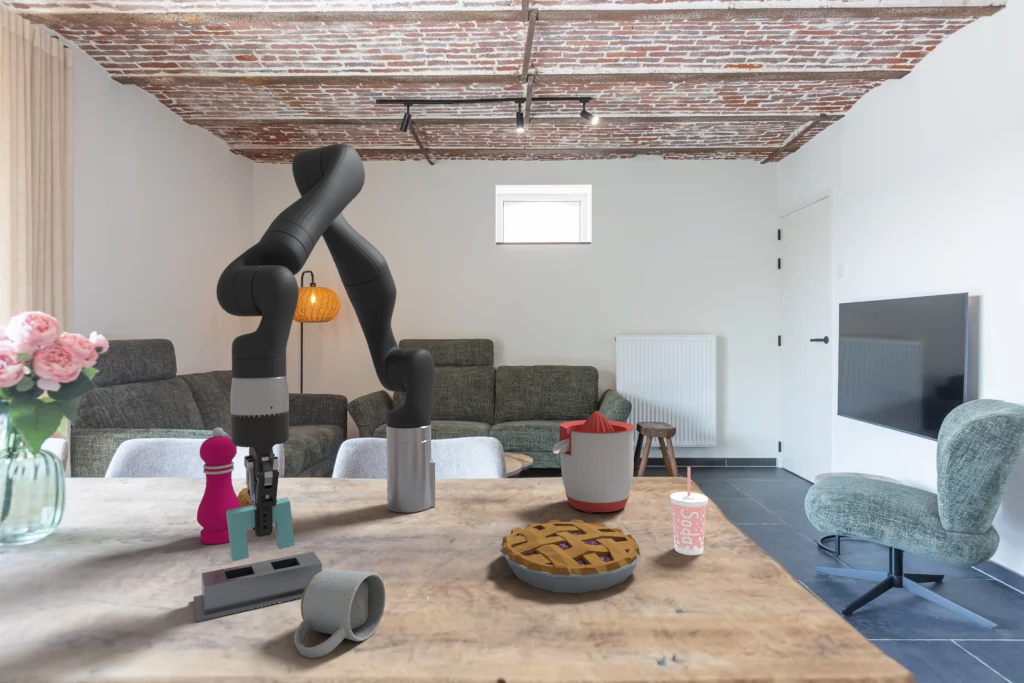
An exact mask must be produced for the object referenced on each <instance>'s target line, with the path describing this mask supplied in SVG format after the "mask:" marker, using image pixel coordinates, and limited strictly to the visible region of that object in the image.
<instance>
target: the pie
mask: <svg viewBox="0 0 1024 683" xmlns="http://www.w3.org/2000/svg"><path fill="white" fill-rule="evenodd" d="M499 552H500V553H501V555H502V556H503V557H504V559H506V562H507V563H508V566H509V568H510V569H511V571H512V572H513V573H514V575H515V576H516V577H517V579H520V580H521V581H523V582H525V583H528V585H531V586H532V587H534V588H539V589H542V590H545V591H550V592H554V593H575V594H576V593H585V592H593V591H600V590H605V589H609V588H611V587H613V586H616V585H619V584H622V583H623V582H625V581H626V580H627V579H628V578H629V577H630V576H631V575H632V574H633V572H634V570H635V568H636V565H637V564H638V562H639V560H641V558H643V553H642V550H641V547H640V545H639V544H638V543H637V540H636V539H635V538H634V536H633V535H632V534H627V535H626V534H624V531H623V530H622V529H620V528H616V527H615V528H609V527H608V526H607V527H606V526H605V524H604V523H601V522H600V523H599V522H592V523H589V522H585V521H583V520H582V519H571V521H561V520H560V519H550V520H549V521H548V522H546V523H538V522H537V523H536V522H535V523H529V524H527V525H526V527H524V528H520V527H516V528H513V529H511V530H510V534H506V535H504V536H503V537H502V541H501V545H500V549H499Z"/></svg>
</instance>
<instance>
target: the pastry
mask: <svg viewBox="0 0 1024 683" xmlns="http://www.w3.org/2000/svg"><path fill="white" fill-rule="evenodd" d="M247 490H248V487H245V488H242V490H240V491H239V492H238V494H237V498H238V500H239V502H240V505H241V507H244V506H249V505H251V504H254V503H250V501H249V497H250V496H249V495H248V493H247Z"/></svg>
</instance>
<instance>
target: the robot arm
mask: <svg viewBox="0 0 1024 683" xmlns="http://www.w3.org/2000/svg"><path fill="white" fill-rule="evenodd" d="M291 162H292V164H291V169H292V176H293V179H294V182H295V185H296V188H297V190H298V192H299V195H300V196H301V197H300V198H299V199H297V200H295V201H294V202H293V203H291V204H290V205H288V206H287V207H286V208H285V209H283V210H282V211H281V212H280V213H279V214H277V216H276V217H275V218H274V219H273V220H272V222H271V223H270V224H269V226H268V228H267V229H266V231H265V232H264V234H263V235H262V237H261V238H260V239H259V240H258V242H257V243H255V244H254V245H252V246H251V247H249V248H248V249H247V250H245V251H244V252H243V253H242V254H240V255H239V256H238V257H236V258H235V259H234V260H233V261H231V262H230V263H229V264H228V265H227V266H226V267H225V268H224V270H223V271H222V272H221V273H220V276H219V278H218V280H217V283H216V284H217V285H216V289H215V290H216V291H215V292H216V298H217V299H216V300H217V302H218V304H219V306H220V307H221V309H222V310H224V311H225V313H227V314H229V315H231V316H235V317H261V320H260V321H259V325H258V327H257V328H256V330H255V331H252V332H249V333H245V334H241V335H238V336H236V337H235V338H234V339H233V341H232V343H231V377H232V379H231V386H230V395H229V396H230V397H229V398H230V402H229V404H230V438H231V442H232V444H233V445H235V446H237V447H238V448H248V455H244V458H243V465H244V468H245V485H246V486H247V487H248V490H247V493H248V495H249V496H250V497H249V501H250V503H254V504H251V505H253V508H254V510H255V527H254V528H252V531H254V535H255V537H257V538H261V537H262V538H263V537H268V536H271V535H273V530H274V529H273V524H274V523H273V518H272V508H274V506H276V503H277V500H276V499H278V498H277V497H278V489H279V488H278V487H279V476H280V472H279V457H278V456H275V452H274V450H273V449H274V448H273V447H275V446H276V445H281V444H285V443H286V442H288V441H289V439H290V407H289V406H290V395H289V394H290V393H289V385H288V378H287V345H288V342H289V336H290V332H291V329H292V324H293V321H294V318H295V315H296V310H297V307H298V303H299V295H300V290H299V284H298V281H297V278H296V277H295V276H296V275H297V274H299V273H300V271H301V270H302V269H303V267H304V266H305V264H306V262H308V259H309V257H310V256H311V254H312V252H313V250H314V248H315V246H316V245H317V243H318V242H319V241H320V239H321V237H322V238H323V240H324V242H325V245H326V246H327V249H328V251H329V254H330V257H331V258H332V260H333V262H334V264H335V267H336V269H337V272H338V275H339V278H340V280H341V283H342V285H343V287H344V288H343V289H344V290H345V293H346V294H347V297H348V299H349V302H350V303H351V306H352V307H353V310H354V313H355V315H356V317H357V319H358V322H359V324H360V328H361V330H362V332H363V336H364V338H365V342H366V344H367V347H368V350H369V354H370V357H371V360H372V364H373V367H374V370H375V374H376V376H377V378H378V381H379V383H380V384H381V386H382V387H383V388H384V390H385V389H386V390H387V391H389V392H393V393H396V392H397V393H405V396H404V402H403V404H402V405H400V406H399V407H397V408H394V409H391V410H389V411H388V412H387V414H386V430H385V431H386V486H387V487H386V492H387V493H386V494H387V496H386V502H387V505H386V506H387V509H388V510H389V511H392V512H396V513H416V512H422V511H425V510H428V509H429V508H433V507H436V462H435V460H434V459H432V416H433V415H432V414H433V411H434V405H435V383H436V368H435V362H434V361H435V360H434V358H433V356H432V354H431V353H430V352H429V350H426V349H424V348H411V347H409V348H407V347H406V348H403V347H402V348H401V347H400V346H399V345H398V342H397V340H396V338H395V335H394V332H393V330H392V328H393V327H392V318H393V315H394V310H395V305H396V301H397V288H396V287H397V286H396V284H395V280H394V278H393V275H392V272H391V269H390V267H389V265H388V262H387V259H386V258H385V256H384V255H383V254H382V253H381V252H380V250H379V249H378V248H376V246H375V245H374V244H372V243H371V242H370V241H368V240H367V239H366V238H365V237H364V236H363V235H362V234H360V233H359V232H358V231H357V230H356V229H354V228H353V227H352V225H350V223H349V222H348V220H347V219H346V218H345V216H344V215H343V213H342V212H343V211H344V210H345V209H346V207H347V206H348V205H349V204H351V202H352V201H353V200H354V199H355V198H356V197H357V196H358V195H359V194H360V193H361V191H362V189H363V187H364V184H365V182H366V181H365V180H366V173H365V166H364V163H363V161H362V158H361V157H360V154H359V153H358V151H357V150H356V149H355V148H354V147H353V146H351V145H350V144H346V143H334V144H328V145H325V146H320V147H317V148H311V149H308V150H303V151H301V152H297V154H295V155H294V156H293V159H292V161H291ZM247 487H246V488H247Z"/></svg>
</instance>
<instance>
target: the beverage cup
mask: <svg viewBox="0 0 1024 683" xmlns="http://www.w3.org/2000/svg"><path fill="white" fill-rule="evenodd" d="M686 476H687V491H681V492H680V491H679V492H674V493H671V494H670V495H669V499H670V500H669V501H670V502H671V507H672V508H671V511H672V526H673V527H672V529H673V542H674V550H675V551H676V552H677V553H679V554H682V555H686V556H696V555H697V556H699V555H701V554H703V553H704V545H705V543H704V542H705V530H706V529H705V528H706V513H707V505H708V504H709V503H708V502H709V498H708V497H707V496H706V495H705V494H702V493H697V492H691V467H690V466H687V475H686Z"/></svg>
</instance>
